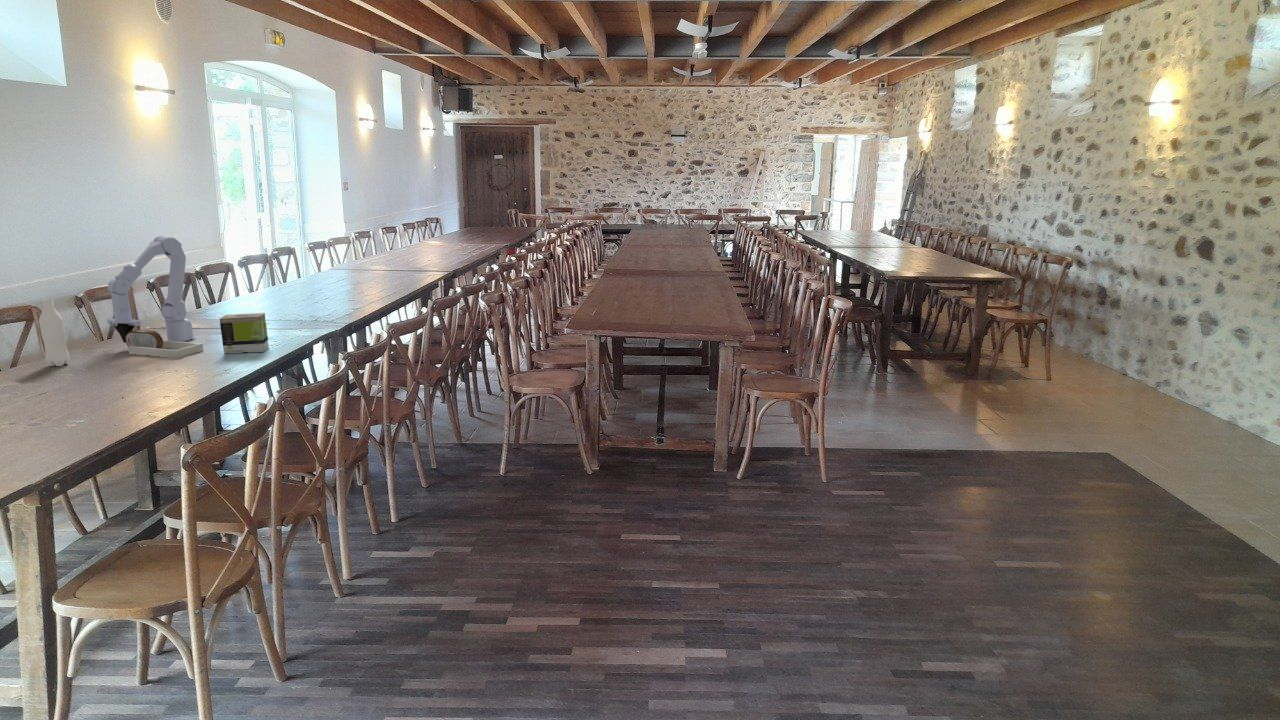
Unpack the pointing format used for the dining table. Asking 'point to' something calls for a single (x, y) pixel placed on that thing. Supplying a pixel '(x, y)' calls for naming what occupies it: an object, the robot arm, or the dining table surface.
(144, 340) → the tin
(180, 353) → the box
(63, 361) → the water bottle
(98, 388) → the dining table surface
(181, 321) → the robot arm
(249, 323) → the tea box
